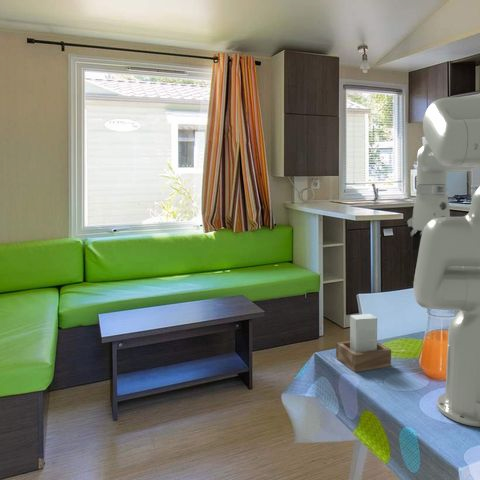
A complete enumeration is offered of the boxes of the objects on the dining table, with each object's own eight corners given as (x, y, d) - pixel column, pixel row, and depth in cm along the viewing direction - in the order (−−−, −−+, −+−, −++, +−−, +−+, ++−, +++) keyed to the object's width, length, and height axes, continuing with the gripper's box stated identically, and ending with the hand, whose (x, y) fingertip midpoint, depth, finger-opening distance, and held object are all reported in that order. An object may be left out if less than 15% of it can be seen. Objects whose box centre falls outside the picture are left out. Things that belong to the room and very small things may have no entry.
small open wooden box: (390, 366, 115) (391, 349, 114) (354, 372, 111) (355, 355, 111) (369, 353, 124) (370, 337, 123) (335, 358, 120) (336, 342, 120)
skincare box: (369, 355, 120) (370, 313, 118) (377, 361, 116) (378, 317, 114) (349, 357, 119) (349, 314, 117) (355, 363, 115) (356, 319, 113)
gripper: (466, 191, 114) (463, 255, 116) (420, 190, 130) (418, 247, 132) (443, 192, 111) (440, 257, 114) (399, 191, 128) (397, 248, 130)
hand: (428, 252), depth 123 cm, fingers open, 9 cm apart
